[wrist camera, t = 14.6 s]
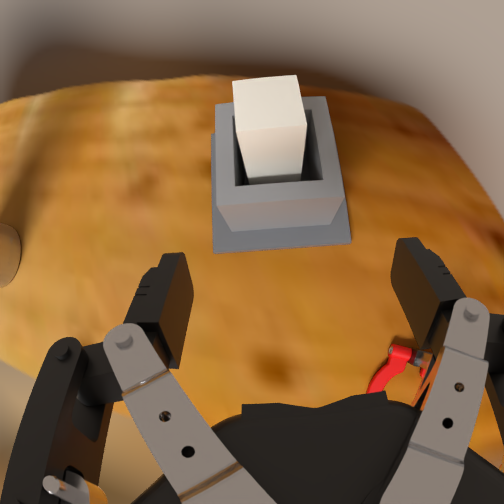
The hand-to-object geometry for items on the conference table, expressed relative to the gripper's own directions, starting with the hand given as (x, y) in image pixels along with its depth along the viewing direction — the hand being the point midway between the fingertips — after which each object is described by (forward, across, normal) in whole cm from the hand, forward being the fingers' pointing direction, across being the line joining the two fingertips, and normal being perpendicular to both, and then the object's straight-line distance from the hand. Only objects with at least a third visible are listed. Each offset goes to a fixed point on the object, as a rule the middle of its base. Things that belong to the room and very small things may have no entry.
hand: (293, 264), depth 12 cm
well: (+23, 0, +6) cm, 23 cm away
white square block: (+22, 0, +6) cm, 23 cm away
